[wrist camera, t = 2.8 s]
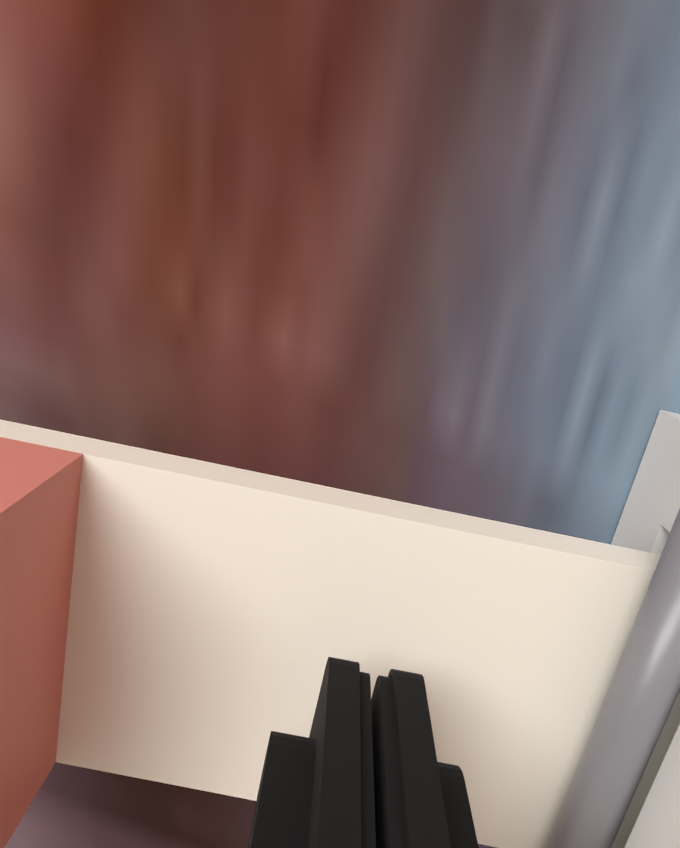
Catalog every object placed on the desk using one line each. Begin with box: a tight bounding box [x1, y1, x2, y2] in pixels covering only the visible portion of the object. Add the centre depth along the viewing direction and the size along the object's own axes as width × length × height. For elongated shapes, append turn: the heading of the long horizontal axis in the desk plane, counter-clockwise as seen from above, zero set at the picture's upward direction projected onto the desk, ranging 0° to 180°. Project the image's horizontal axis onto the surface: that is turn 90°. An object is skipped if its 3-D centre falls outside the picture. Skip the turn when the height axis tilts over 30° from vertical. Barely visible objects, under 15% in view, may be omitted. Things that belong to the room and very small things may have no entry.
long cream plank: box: [0, 420, 680, 848], centre depth 10 cm, size 26×7×6 cm, turn 78°
